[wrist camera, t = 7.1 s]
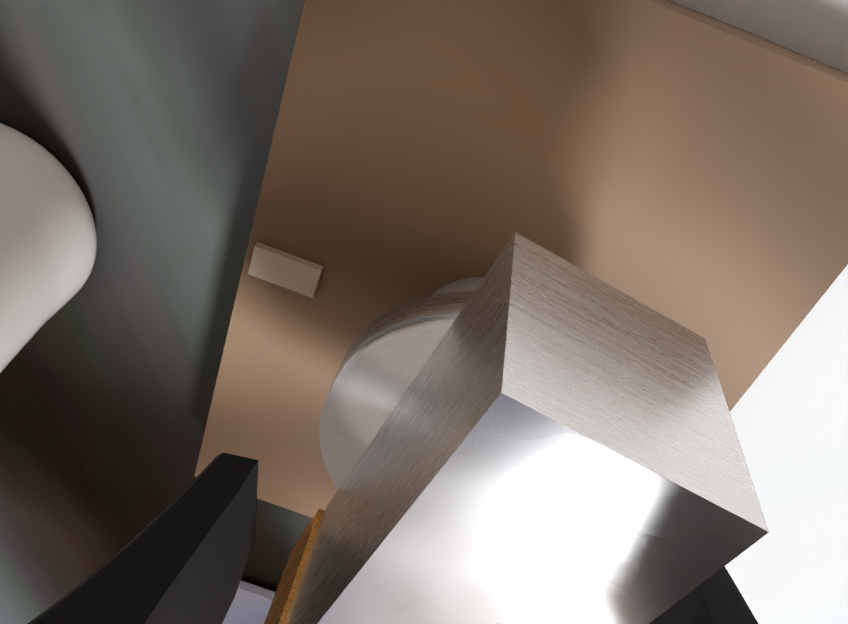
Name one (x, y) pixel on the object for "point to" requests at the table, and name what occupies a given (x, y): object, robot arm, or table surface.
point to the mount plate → (524, 190)
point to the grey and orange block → (521, 461)
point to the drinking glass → (38, 239)
